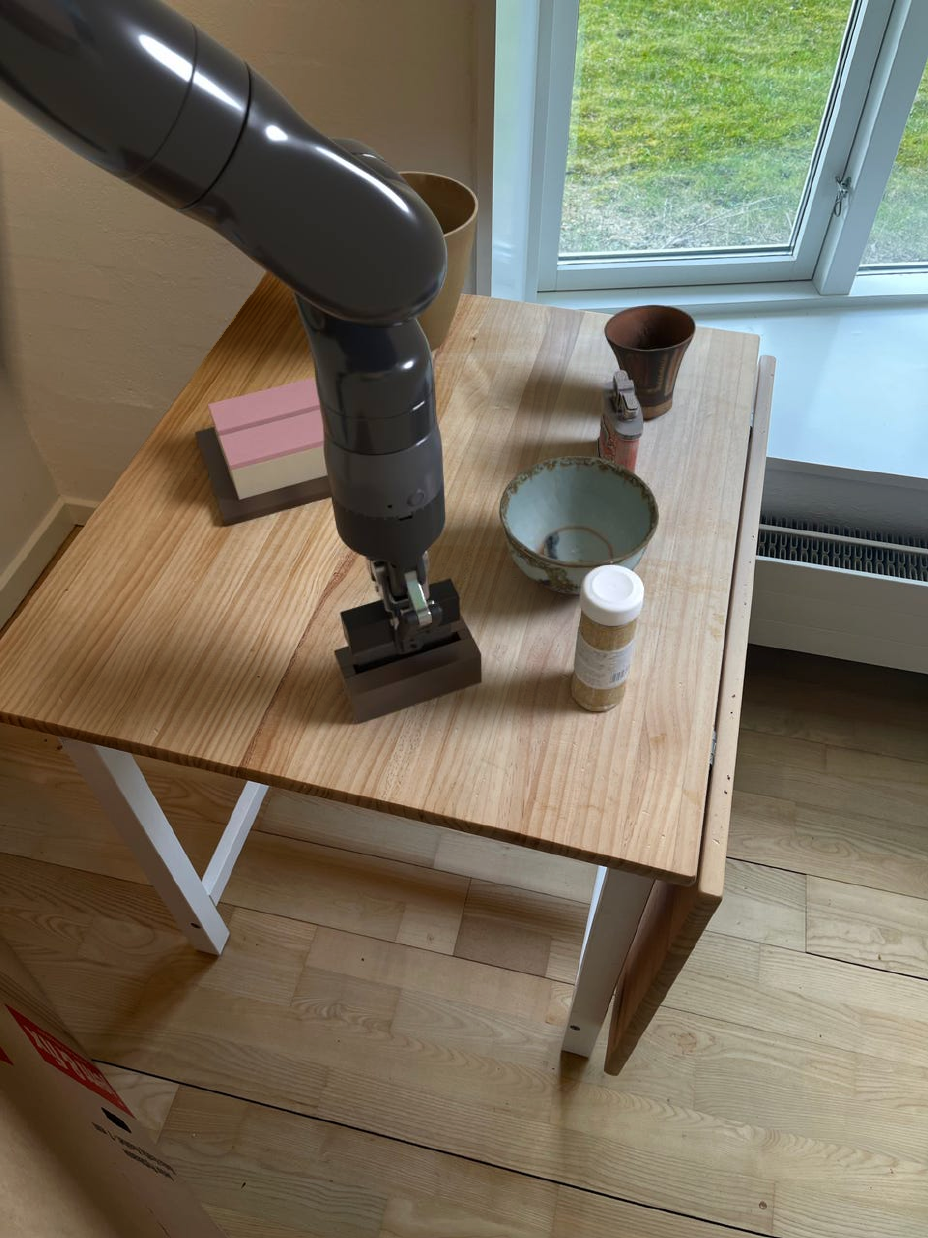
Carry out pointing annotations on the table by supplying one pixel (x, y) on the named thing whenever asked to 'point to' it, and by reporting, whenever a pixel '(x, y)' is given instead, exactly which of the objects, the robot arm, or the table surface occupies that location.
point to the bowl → (576, 519)
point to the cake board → (257, 504)
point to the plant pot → (447, 245)
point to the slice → (264, 407)
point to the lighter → (620, 422)
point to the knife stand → (410, 676)
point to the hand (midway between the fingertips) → (403, 635)
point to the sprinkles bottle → (605, 636)
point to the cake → (275, 454)
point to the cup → (651, 351)
